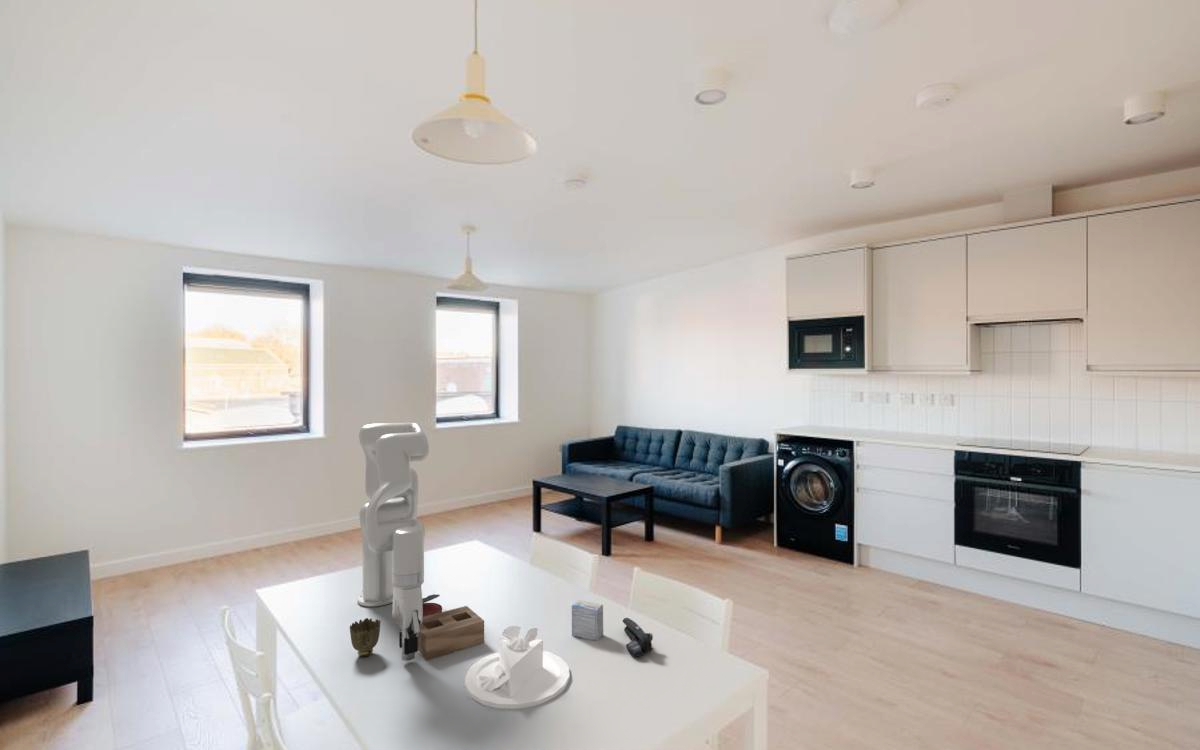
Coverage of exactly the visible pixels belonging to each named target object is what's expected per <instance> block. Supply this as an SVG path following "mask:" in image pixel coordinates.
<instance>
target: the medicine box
mask: <svg viewBox="0 0 1200 750" xmlns="http://www.w3.org/2000/svg"><path fill="white" fill-rule="evenodd" d="M603 635H604V605H603V604H602V603H597V602H594V601H593V602H592V601H586V600H580V599H578V600H577V601H575V602H574V603H572V605H571V636H573V637H578V638H581V639H582V638H583V639H585V640H590V641H597V642H598V641H599V639H601V638H602V636H603Z"/></svg>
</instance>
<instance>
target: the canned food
mask: <svg viewBox="0 0 1200 750" xmlns="http://www.w3.org/2000/svg"><path fill="white" fill-rule="evenodd" d="M438 597H440V594H435V593H434V594H430V595H428V596H425V597H422V605H423V617H425V616H429V615H433V614H437V613H441V612H443V606H442V605H441V604H439V603H437V602H430V601H432V600H435V599H437V598H438Z"/></svg>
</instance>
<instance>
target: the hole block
mask: <svg viewBox="0 0 1200 750" xmlns="http://www.w3.org/2000/svg"><path fill="white" fill-rule="evenodd" d="M419 631H420V632H419V633H418V651H419V652H418V651H417V652H418V653H419V654H420V655H421V656H422V658H423V659H424V660H425V661H429V660H432V659H436V658H438V657H442V656H446V655H449V654H452V653H455V651H456V652H458V651H461V650H464V649H468V648H471V647H472V648H473V647H475V646H478V645H482V644H484V643H485V620H484V618H482V617H480V616H479V614H477V613H476V612H474V610H472V609H471V608H470V607H469V606H468V605H464V606H460V607H457V608H452V609H449V610H445V611H442V612H441V613H437V614H433V615H429V616H425V617H423V620H422V624H421V625H419Z"/></svg>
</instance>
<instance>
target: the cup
mask: <svg viewBox="0 0 1200 750" xmlns="http://www.w3.org/2000/svg"><path fill="white" fill-rule="evenodd" d="M380 630H381V620H380V619H378V618H376V619H375V621H374V620H373V619H372V618H368V617H366V618H364V620H362V619H359V621H354V622H352V623H351V624H350V626H349V633H350V640H351V641H350V642H351V646H352V647H353V648H354V650H356V651H357V655H358V656H359V657H361V658H366V657H369V656H371V655H372V654H373V653H374V652H373V651H374V648H375V647H376V646H377V645H378V641H379V637H380V632H381V631H380Z"/></svg>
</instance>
